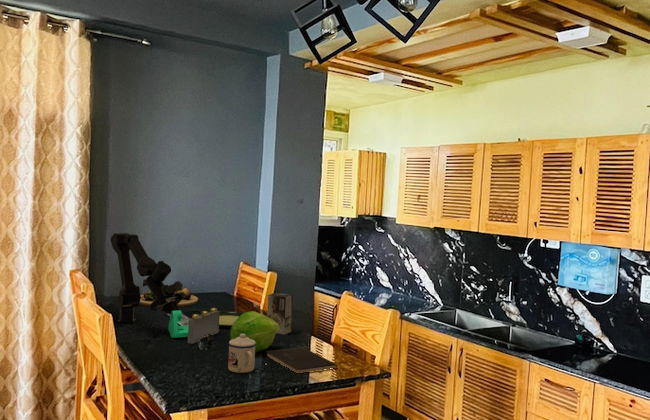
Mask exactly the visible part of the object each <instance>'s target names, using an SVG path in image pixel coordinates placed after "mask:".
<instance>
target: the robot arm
mask: <svg viewBox="0 0 650 420" xmlns="http://www.w3.org/2000/svg"><path fill="white" fill-rule="evenodd" d="M110 243H111V247H112V249H113V250H114V251H115V253H116V254H117V261H118V267H119V274H120V280H121V281H120V282H121V287H120V290H119V292H118V294H119V296H118V297H117V299H116V301H115V302H114V305H115V308H117V309H119V319H118V320H117V321H116V322H117V323H126V324H127V323H129V324H131V323H134V322H135V321H136V320H137V319H136V318H134V316H135V315H134V314H135V308H139V307H140V304H139V303H140V299H141V295H142V294H141V291H140V286H139V285H136V284H135V283H134V282H135V281H134V275H133V268H132V262H131V255H130V252H131V254H132V255H133V257H134V259H135V261H136V262H137V263H136V264H137V265H136V269H137V273H138V274H139V276H140V277H146V278H144V279H142V281H143V283H142V287H144V288H145V287H146V286H147V288H148V289H149V291H151V292H152V293H153V294H152V297H156V299H155V300H154V301H153V302H152V303H151V304H150V305H149V306H148V309H149V311H151V313H153V312H156V311H157V309H158V308H159V307H158V306H161V305H162V307H163V308H160V311H161V312H164V313H167V314H169V315H171V312H172V311H178V310H180V309H179V308H180V307H178V303H179V302H180V301H181V300H182V299H184V298H185V297H186V295H185V294H184V292H179V293H176V294H175V292H177V291H179V290H183V283H182V281H181V282H180V281H178V280H177V281H175V282H174V283H173V284H172V285H171V284H169V285H170V286H169V285H168V284H165V283H164V281H165V280H166V279H167V277H168V276H169V275H170V274H171V272H172V267H171V266H170V265H169V264H167V263H166V262H164V261H163V260H159V261H158V262H156V261H155V260H154V259H153V258H151V257H150V256H149V255H148V254H147V252H146V250H145V248H144V247H143V245H142V242H141V241H140V239H139V235H138V234H130V233H129V232H124V233H123V232H121V233H119V232H117V233H115V232H114V233H113V235H112V236H111V237H110ZM174 294H175V295H174ZM173 295H174V296H173ZM172 296H173V297H172Z"/></svg>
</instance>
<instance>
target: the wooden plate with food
mask: <svg viewBox="0 0 650 420" xmlns="http://www.w3.org/2000/svg"><path fill="white" fill-rule="evenodd" d="M170 285H172V284H169V285H168V286H170ZM179 292H184V294H185V295H186V297H185V298H184V299H182V300H181V301H180V302H179V303H178V308H184V307H189V306H194V305H196V304H198V302H199V298H198V297H197V296H195V295H193V294H192V292H191V291H190V289H189V288H187V287H185V288H182V290H179V291H177V292H175V294H176V293H179ZM152 294H153V293H152V292H151V290H147V291H145V292H144V293H143V294H141V299H140V303H139V306H144V307H149V305H150V304H151V303H152V302H153V301H154V300H155V299H156V297H152ZM175 294H174V295H175ZM174 295H173V296H174ZM173 296H172V297H173ZM157 308H160V309H162V305H161V306H158V307H157Z"/></svg>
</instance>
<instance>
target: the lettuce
mask: <svg viewBox="0 0 650 420" xmlns="http://www.w3.org/2000/svg"><path fill="white" fill-rule="evenodd" d="M279 328H280V327H279V324H278V323H276V322H275V321H274V320H272V319H271V318H269V317H267V315H264V314H262V313H259V312H257V311H254V310H252V311H247V312H244V313H243V314H242V315H241V316H239V317H238V318H237V320H236V321H235V322H234V323H233V325H232V327H231V328H230V330H229V331H230V335H229V336H230V340H232V339H235V338H237V337H240V334H246V337H248V338H250V339H252V340H254V341H255V342H256V346H255V353H258V352H260V351H263V350H267V349H268V348H269V347H270V346H271V344H272V343H273V341H274V339H275V338H276V337H275V336H276V334H278V333H277V332H278V330H279Z"/></svg>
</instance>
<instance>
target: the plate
mask: <svg viewBox="0 0 650 420" xmlns="http://www.w3.org/2000/svg"><path fill="white" fill-rule="evenodd" d="M219 311H220V315H219V327H224V328H225V327H231V328H232V325H233V323H234V322H235V321H236V320H237V318H238V317H239V316H241V315H242V314H243V313H245V312H242V311H231V310H230V311H226V310H225V311H223V310H222V311H221V310H219ZM201 315H202V313H201V314H199V316H201Z"/></svg>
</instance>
